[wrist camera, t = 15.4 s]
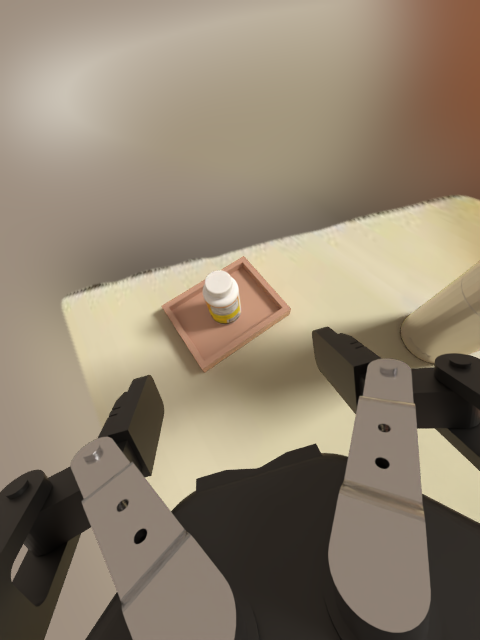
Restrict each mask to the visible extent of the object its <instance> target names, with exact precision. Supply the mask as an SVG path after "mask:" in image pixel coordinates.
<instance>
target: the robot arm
mask: <svg viewBox="0 0 480 640" xmlns="http://www.w3.org/2000/svg"><path fill="white" fill-rule="evenodd" d="M401 337H402V340H403V342H404V344H405V346H406V347H407V348H408V350H409V351H410V352H411V353H412V354H414V355H415V356H416V357H418V358H420V359H421V360H424V361H426V362H429V363H435V364H434V368H419V369H411V368H410V367H409V366H408V365H407V364H406V363H404V362H402V361H399V360H396V359H389V358H384V359H381V358H380V357H379V356H377V355H376V354H375V353H373V352H372V351H371V350H369V349H368V348H367V347H364V345H362V344H361V343H360V342H358V341H357V340H356V339H354V338H353V337H352V336H349V335H346V334H343V333H340V334H337V333H336V332H334V331H333V330H332V329H331V328H329V327H324V328H321V329H317V330H313V331H312V338H313V346H314V353H315V359H316V363H317V366H318V368H319V370H320V371H321V372H322V374H323V375H324V376H325V377H326V378H327V380H328V381H329V382H330V383H331V385H332V386H333V387H334V388H335V389H336V391H337V392H338V393H339V394H340V396H341V397H342V398H343V399H344V401H345V402H346V403H347V404H348V405H349V407H350V408H351V409H352V410H353V412H354V413H355V414H356V417H355V423H354V428H353V434H352V439H351V445H350V450H349V456H348V457H347V456H343V455H338V454H331V453H321V452H320V451H319V449H318V447H317V445H316V444H313V445H309V446H306V447H303V448H299V449H296V450H293V451H289V452H286V453H285V454H283V455H281V456H279V457H278V458H276V459H274V460H272V461H271V462H269V463H267V464H265V465H264V466H262V467H260V468H256V469H238V470H225V471H221V472H218V473H215V474H211V475H208V476H204V477H201V478H198V479H196V491H194V492H193V493H191V494H190V495H188V496H187V497H186V498H185V499H183V500H182V501H181V502H180V503H179V504H178V505H177V506H176V507H175V508H174V509H173V510H172V511H170V510H169V509H168V507H167V506H166V505H165V503H164V502H163V501H162V499H161V498H160V497H159V496H158V494H157V493H156V492H155V490H154V489H153V488H152V486H151V485H150V484H149V483H148V481H147V480H146V479H145V477H148V476H151V475H152V470H153V465H154V460H155V455H156V450H157V446H158V441H159V436H160V431H161V426H162V422H163V417H164V405H163V401H162V399H161V397H160V394H159V392H158V389H157V387H156V385H155V382H154V380H153V378H152V376H151V375H147V376H144V377H140V378H136V379H134V380H133V381H132V383H131V385H130V387H129V390H128V392H124V393H123V394H122V395H121V396H120V397H119V399H118V400H117V401H116V402H115V404H114V406H113V408H112V411H111V412H110V414H109V418H108V419H107V421H106V423H105V425H104V427H103V429H102V431H101V433H100V435H99V437H98V439H95V440H93V441H91V442H90V443H88V444H87V445H85V446H84V447H83V448H81V449H80V451H78V452H77V454H76V455H75V456H74V458H73V460H72V462H71V466H70V467H68V468H66V469H65V470H63V471H61V472H59V473H57V474H55V475H53V476H51V477H49V478H47V476H46V475H45V473H44V472H43V471H41V470H33V471H30V472H27V473H25V474H23V475H21V476H20V477H18V478H17V479H15V480H14V481H12V482H11V483H10V484H9V485H7V486H6V487H5V488H4V489H3V490H2V491H1V492H0V640H44V638H45V635H46V633H47V629H48V627H49V624H50V621H51V618H52V615H53V612H54V609H55V606H56V604H57V601H58V598H59V595H60V592H61V589H62V587H63V584H64V581H65V578H66V575H67V572H68V569H69V566H70V564H71V561H72V558H73V555H74V552H75V549H76V546H77V543H78V541H79V538H80V535H81V533H82V532H84V531H85V530H87V529H89V528H90V527H92V530H93V532H94V534H95V537H96V540H97V541H98V545H99V547H100V549H101V552H102V555H103V557H104V560H105V562H106V565H107V567H108V570H109V572H110V575H111V577H112V580H113V582H114V585H115V587H116V590H117V593H116V594H115V596H114V597H113V599H112V600H111V602H110V603H109V605H108V606H107V608H106V609H105V611H104V612H103V614H102V615H101V617H100V618H99V620H98V621H97V623H96V624H95V626H94V627H93V629H92V630H91V632H90V633H89V635H88V637H87V638H86V639H85V640H480V523H478V522H476V521H474V520H472V519H470V518H468V517H466V516H464V515H462V514H460V513H459V512H457V511H455V510H453V509H451V508H449V507H447V506H445V505H443V504H441V503H439V502H437V501H435V500H433V499H431V498H430V497H428V496H426V495H424V494H422V489H421V476H420V462H419V449H418V435H417V428H435V429H436V430H437V431H438V432H439V433H440V434H441V435H442V436H444V437H445V438H446V439H447V440H448V441H449V442H450V443H451V444H452V445H453V446H454V447H455V448H456V449H457V450H458V451H459V452H460V453H461V454H462V455H463V456H465V457H466V458H467V459H468V460H469V461H470V462H471V463H472V464H473V465H474V466H475V467H476V468H477V469H478V470H479V471H480V359H478V358H476V357H473V356H470V355H469V354H471V353H474V352H477V351H479V350H480V261H479V262H477V263H476V264H475V265H473V266H472V267H471V268H470V269H468V270H467V271H466V272H465V273H463V274H462V275H461V276H459V277H458V278H457V279H456V280H454V281H453V282H452V283H450V284H449V285H448V286H447V287H445V288H444V289H443V290H441V291H440V292H439V293H437V294H436V295H435V296H434V297H432V298H431V299H430V300H428V301H427V302H426V303H425V304H423V305H422V306H420V307H419V308H418V309H417V310H415V311H414V312H413V313H412V314H410V315H409V316H408V317H406V319H405V320H404V321H403V323H402V326H401ZM23 544H24V545H25V546H26V547H27V548H28V552H27V554H26V556H25V557H24V560H23V561H22V564H21V565H20V568H19V570H18V572H17V574H16V576H15V578H14V580H13V582H11V569H12V565H13V563H14V561H15V559H16V557H17V555H18V553H19V551H20V549H21V547H22V545H23Z"/></svg>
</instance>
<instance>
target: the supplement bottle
mask: <svg viewBox="0 0 480 640" xmlns="http://www.w3.org/2000/svg"><path fill="white" fill-rule="evenodd" d="M203 297H204V299H205V302H206V304H207V307H208V309H209V312H210V314H211V316H212V318H213V320H214V321H216V322H217V323H219V324H222V325H228V324H231V323H234V322H235V321H236V320H237V319H238V318H239V316H240V314H241V303H240V296H239V288H238V285H237V282H236V281H235V280H234V279H233V278H232V277H231V276H230V275H229V274H228V273H227V272H225V271H222V270H217V271H213V272H211V273H210V274H209V275H208V276H207V277H206V279H205V284H204V286H203Z"/></svg>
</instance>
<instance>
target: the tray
mask: <svg viewBox="0 0 480 640" xmlns="http://www.w3.org/2000/svg"><path fill="white" fill-rule="evenodd" d="M222 271H225V272H227V273H228V274H229V275H230V276H231V277H232V278H233V279H234V280H235V281H236V282H237V285H238V288H239V296H240V303H241V314H240V316H239V318H238V319H237V320H236V321H235V322H234V323H231V324H228V325H222V324H219V323H217V322H216V321H214V320H213V318H212V316H211V314H210V312H209V309H208V307H207V304H206V302H205V299H204V297H203V286H204V284H205V280H204V281H202V282H200V283H199V284H197V285H195V286H194V287H192V288H190V289H189V290H187V291H185V292H184V293H182V294H180V295H179V296H177V297H175V298H174V299H172V300H171V301H169V302H167V303H166V304H164V305H162V308H163V309H164V311H165V313H166V314H167V316H168V317H169V319H170V320H171V322H172V323H173V325H174V327H175V328H176V330H177V331H178V333H179V334H180V336H181V337H182V339H183V341H184V342H185V344H186V345H187V347H188V348H189V350H190V352H191V353H192V355H193V356H194V358H195V359H196V361H197V362H198V364H199V366H200V367H201V369H202V370H203V371H204V372H206V371H208V370H209V369H211V368H212V367H214V366H215V365H216V364H218V363H219V362H221V361H222V360H224V359H225V358H227V357H228V356H230V355H231V354H232V353H234V352H235V351H237V350H238V349H240V348H241V347H243V346H244V345H246V344H247V343H248V342H250V341H251V340H253V339H254V338H256V337H257V336H259V335H260V334H262V333H263V332H264V331H266V330H267V329H269V328H270V327H272V326H273V325H275V324H276V323H278V322H279V321H280V320H282V319H283V318H285V317H286V316H288V315H289V314H290V310H291V308H290V307H289V306H288V305H287V304H286V303H285V302H284V300H283V299H282V298H281V297H280V296H279V295H278V294H277V293H276V291H275V290H274V289H273V288H272V287H271V286H270V285H269V284H268V283H267V281H266V280H265V279H264V278H263V277H262V276H261V275H260V274H259V272H258V271H257V270H256V269H255V268H254V267H253V266H252V265H251V263H250V262H249V261H248V260H247V259H246V258H245V257H244V256H243V257H241V258H240V259H238V260H236V261H235V262H233V263H232V264H230V265H228V266H227V267H225V268H223V269H222Z"/></svg>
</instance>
